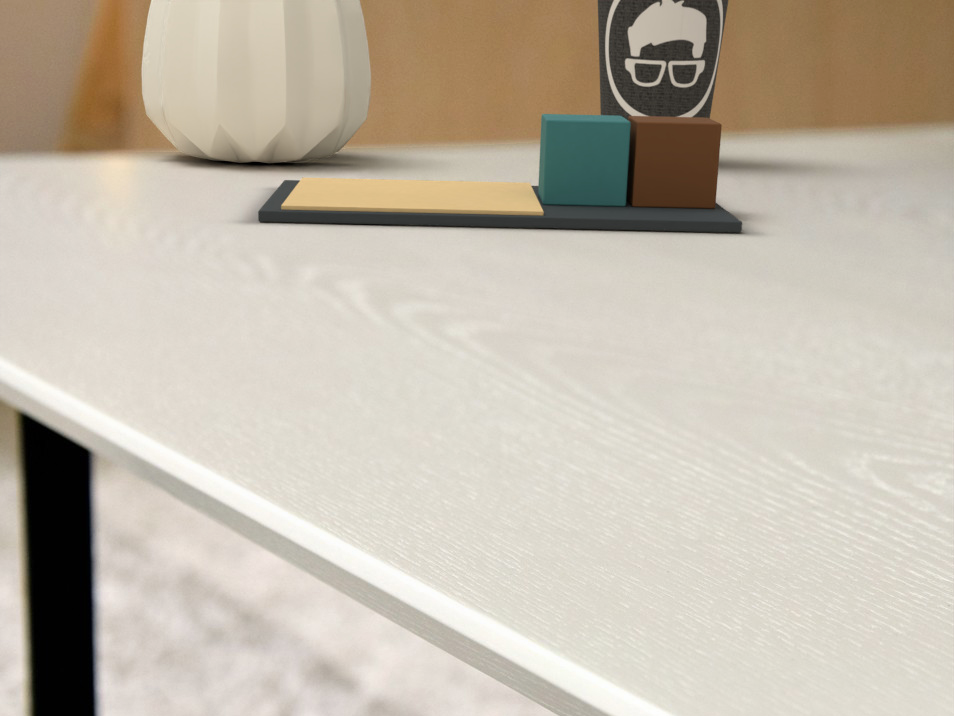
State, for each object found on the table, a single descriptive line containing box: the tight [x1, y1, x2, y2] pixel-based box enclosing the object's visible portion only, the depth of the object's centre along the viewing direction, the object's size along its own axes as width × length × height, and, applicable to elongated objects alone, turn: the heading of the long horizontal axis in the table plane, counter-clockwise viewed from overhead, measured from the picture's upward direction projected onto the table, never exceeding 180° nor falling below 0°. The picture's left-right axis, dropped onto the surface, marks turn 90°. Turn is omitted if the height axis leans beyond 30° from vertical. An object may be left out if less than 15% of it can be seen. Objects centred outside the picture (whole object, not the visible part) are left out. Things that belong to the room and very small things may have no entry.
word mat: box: [257, 113, 743, 234], centre depth 80 cm, size 22×13×4 cm, turn 89°
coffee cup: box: [597, 0, 729, 120], centre depth 103 cm, size 10×10×15 cm
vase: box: [140, 0, 372, 164], centre depth 100 cm, size 14×14×13 cm
